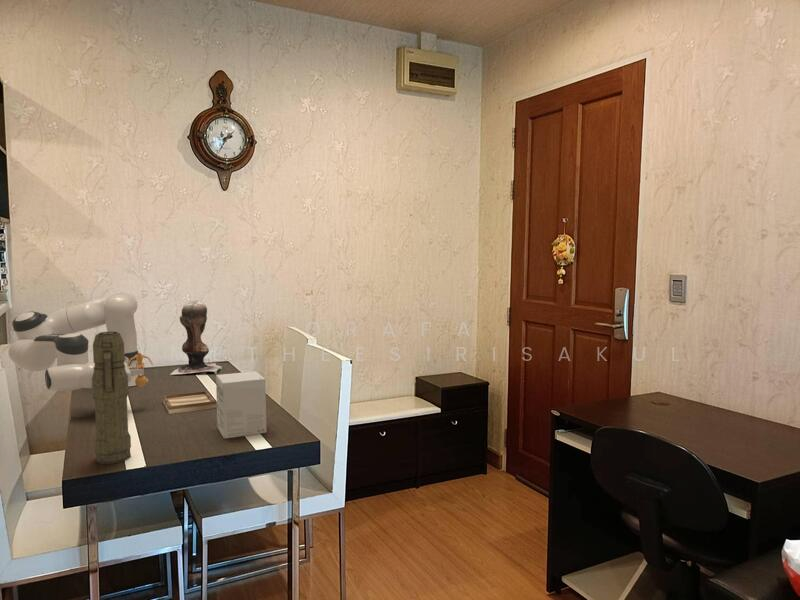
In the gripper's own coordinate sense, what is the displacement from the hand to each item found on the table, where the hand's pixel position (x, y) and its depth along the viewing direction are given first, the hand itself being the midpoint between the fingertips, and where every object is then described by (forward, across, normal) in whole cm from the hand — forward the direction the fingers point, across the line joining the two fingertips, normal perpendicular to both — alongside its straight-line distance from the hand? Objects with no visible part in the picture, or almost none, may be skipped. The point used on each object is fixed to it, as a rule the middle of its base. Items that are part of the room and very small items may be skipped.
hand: (143, 370), depth 204 cm
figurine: (-1, 0, -6) cm, 6 cm away
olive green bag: (-12, +49, -14) cm, 52 cm away
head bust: (+29, -62, -15) cm, 70 cm away
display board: (+15, +2, -14) cm, 21 cm away
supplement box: (+25, +41, -14) cm, 50 cm away
